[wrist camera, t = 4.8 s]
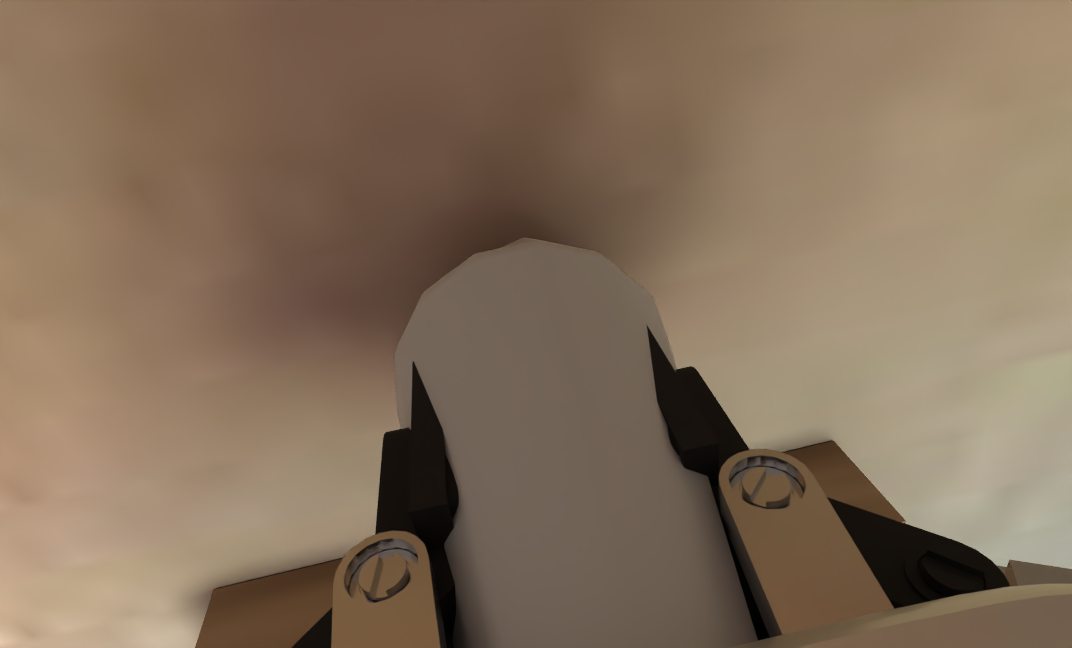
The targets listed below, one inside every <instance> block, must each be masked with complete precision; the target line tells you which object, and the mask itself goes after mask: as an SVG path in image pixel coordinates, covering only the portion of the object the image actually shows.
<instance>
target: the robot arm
mask: <svg viewBox="0 0 1072 648" xmlns="http://www.w3.org/2000/svg"><path fill="white" fill-rule="evenodd" d="M647 331H648V338H649V346H650V353H651V360H652V368H653V375H654V382H655V389H656V397H657V402H658V405H659V407H660V409H661V412H662V414H663V417H664V419H665V422H666V424H667V427H668V434H669V439H670V443H671V445H672V447H673V448H674V450H675V451H676V453H677V454H678V455H679V456H680V459H681V461H682V464H683V466H684V468H686V469H688V470H691V471H694V472H697V473H700V474H703V475H706V476H708V479H709V482H710V485H711V489H712V492H713V495H714V498H715V502H716V505H717V508H718V511H719V515H720V518H721V521H722V525H723V528H724V531H725V534H726V538H727V541H728V544H729V548H730V551H731V554H732V557H733V561H734V564H735V567H736V570H737V574H738V577H739V580H740V584H741V587H742V590H743V593H744V597H745V600H746V603H747V606H748V610H749V613H750V616H751V620H752V623H753V626H754V629H755V633H756V636H757V639H758V641H755V642H750V643H746V644H742V645H738V646H734V647H729V648H1072V569H1067V568H1060V567H1054V566H1047V565H1041V564H1034V563H1028V562H1021V561H1014V560H1009V563H1008V565H1007V567H1002V566H996V565H995V564H994V563H993V562H992V561H991V560H990V559H988V558H987V557H986V556H984V555H983V554H981V553H980V552H978V551H977V550H975V549H973V548H971V547H969V546H966V545H964V544H962V543H960V542H957V541H954V540H952V539H949V538H946V537H943V536H940V535H937V534H934V533H931V532H928V531H925V530H922V529H919V528H916V527H913V526H910V525H908V524H905V523H902V522H899V521H896V520H893V519H890V518H887V517H884V516H881V515H878V514H875V513H872V512H869V511H866V510H864V509H861V508H858V507H855V506H852V505H849V504H846V503H843V502H840V501H837V500H834V499H831V498H828V497H826V495H825V494H824V492H823V490H822V489H821V487H820V485H819V484H818V482H817V480H816V479H815V477H814V475H813V474H812V473H811V472H810V470H809V469H808V468H807V467H806V466H805V465H804V464H803V463H802V462H800V461H799V460H797V459H796V458H794V457H792V456H790V455H787V454H785V453H782V452H779V451H774V450H768V449H752V450H749V448H748V447H747V445H746V444H745V442H744V441H743V439H742V438H741V436H740V434H739V433H738V431H737V430H736V428H735V427H734V425H733V424H732V422H731V421H730V419H729V418H728V416H727V415H726V413H725V412H724V410H723V409H722V407H721V406H720V404H719V403H718V401H717V400H716V398H715V397H714V395H713V394H712V392H711V391H710V389H709V388H708V386H707V385H706V383H705V382H704V380H703V379H702V377H701V376H700V374H699V373H698V371H697V370H696V369H695V368H694V367H691V366H690V367H686V368H681V369H677V370H674V368H673V367H672V365H671V363H670V362H669V360H668V359H667V357H666V355H665V354H664V352H663V350H662V349H661V347H660V345H659V344H658V342H657V340H656V339H655V337H654V336H653V334H652V332H651V331H650V329H649V327H648V326H647ZM675 371H676V372H675ZM458 505H459V494H458V487H457V484H456V480H455V477H454V474H453V471H452V468H451V466H450V463H449V461H448V459H447V456H446V454H445V444H444V435H443V429H442V426H441V424H440V422H439V419H438V417H437V415H436V412H435V410H434V408H433V405H432V403H431V401H430V398H429V396H428V393H427V391H426V389H425V386H424V384H423V382H422V379H421V377H420V375H419V372H418V370H417V368H416V365H415V363H414V361H413V363H412V403H411V430H410V428H409V427H408V428H403V429H399V430H394V431H390V432H386V433H385V434H384V438H383V448H382V460H381V473H380V485H379V497H378V509H377V521H376V533H375V535H374V536H371V537H369V538H366V539H365V540H363V541H362V542H360V543H359V544H358V545H356V546H355V547H353V548H352V549H351V550H350V551H349V553H348V554H347V555H346V556H345V557H344V558H343V559H342V561H341V563H340V565H339V566H338V568H337V570H336V573H335V578H334V583H333V607H332V608H331V609H330V610H329V611H328V612H327V613H326V614H325V615H324V616H323V617H322V618H321V619H320V620H318V621H317V622H316V623H315V624H314V625H313V626H312V627H311V628H310V629H309V630H308V631H307V632H306V633H305V634H304V635H303V636H302V637H301V638H300V639H299V640H298V641H297V642H296V643H295V644H294V645H293V646H292V647H291V648H453V643H452V636H453V629H454V622H455V615H456V596H455V583H454V579H453V576H452V572H451V569H450V565H449V562H448V558H447V555H446V551H445V548H444V543H445V541H446V540H447V538H448V536H449V535H450V533H451V532H452V530H453V528H454V526H453V520H452V519H453V518H454V516H455V513H456V511H457V508H458Z"/></svg>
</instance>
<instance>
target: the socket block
mask: <svg viewBox="0 0 1072 648" xmlns="http://www.w3.org/2000/svg"><path fill="white" fill-rule="evenodd" d="M785 454H787V455H790V456H792V457H794V458H796V459H797V460H799V461H800V462H802V463H803V464H804V465H805V466H806V467H807V468H808V469H809V470H810V472H811V473H812V474H813V475H814V477H815V479H816V480H817V482H818V484H819V485H820V487H821V489H822V490H823V492H824V494H825V495H826V497H828V498H831V499H834V500H837V501H840V502H843V503H846V504H849V505H852V506H855V507H858V508H861V509H864V510H866V511H869V512H872V513H875V514H878V515H881V516H884V517H887V518H890V519H893V520H896V521H899V522H902V523H905V522H906V521H905V520H904V518H903V517H902V516H901V515H900V514H899V513H898V512H897V511H896V510H895V508H894V507H893V506H892V505H891V504H890V503H889V502H888V501H887V500H886V498H885V497H884V496H883V495H882V494H881V493H880V492H879V491H878V490H877V488H876V487H875V486H874V485H873V484H872V483H871V482H870V481H869V480H868V478H867V477H866V476H865V475H864V474H863V473H862V472H861V471H860V470H859V468H858V467H857V466H856V465H855V464H854V463H853V462H852V461H851V460H850V458H849V457H848V456H847V455H846V454H845V453H844V452H843V451H842V450H841V448H840V447H839V446H838V445H837V444H836V443H835V442H834V441H831V442H826V443H822V444H818V445H814V446H810V447H806V448H801V449H797V450H793V451H789V452H785ZM341 561H342V559H339V560H335V561H331V562H327V563H323V564H318V565H314V566H310V567H306V568H302V569H298V570H293V571H289V572H285V573H281V574H277V575H273V576H269V577H264V578H260V579H256V580H252V581H248V582H244V583H239V584H235V585H231V586H227V587H223V588H219V589H214V591H213V594H212V597H211V600H210V603H209V606H208V610H207V613H206V616H205V619H204V622H203V625H202V628H201V631H200V634H199V637H198V640H197V644H196V647H195V648H291V647H292V646H293V645H294V644H295V643H296V642H297V641H298V640H299V639H300V638H301V637H302V636H303V635H304V634H305V633H306V632H307V631H308V630H309V629H310V628H311V627H312V626H313V625H314V624H315V623H316V622H317V621H318V620H320V619H321V618H322V617H323V616H324V615H325V614H326V613H327V612H328V611H329V610H330V609H331V608H332V607H333V583H334V578H335V573H336V570H337V568H338V566H339V565H340V563H341Z"/></svg>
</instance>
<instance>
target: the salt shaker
mask: <svg viewBox="0 0 1072 648" xmlns="http://www.w3.org/2000/svg"><path fill="white" fill-rule="evenodd" d="M647 326H648V327H649V329H650V331H651V332H652V334H653V336H654V337H655V339H656V340H657V342H658V344H659V345H660V347H661V349H662V350H663V352H664V354H665V355H666V357H667V359H668V360H669V362H670V363H671V365H672V367H673V368H674V370H677V368H676V365H675V361H674V357H673V354H672V350H671V346H670V343H669V340H668V337H667V335H666V332H665V329H664V326H663V323H662V321H661V318H660V315H659V312H658V309H657V307H656V304H655V301H654V298H653V296H652V295H651V294H650V293H649V292H647V291H646V290H645V289H644V288H643V287H642V286H641V285H639V284H638V283H637V282H636V281H634V280H633V279H632V278H631V277H629V276H628V275H627V274H626V273H624V272H623V271H622V270H621V269H619V268H618V267H617V266H616V265H614V264H613V263H612V262H611V261H609V260H608V259H607V258H606V257H604V256H603V255H602V254H601V253H599V252H598V251H593V250H588V249H583V248H578V247H573V246H568V245H563V244H558V243H553V242H548V241H544V240H539V239H531V238H524V237H523V238H521V239H519V240H516V241H514V242H512V243H510V244H508V245H506V246H503V247H501V248H498V249H493V250H489V251H485V252H480V253H476V254H473V255H472V256H471V257H469V258H468V259H467V260H465V261H464V262H463V263H461V264H460V265H459V266H457V267H456V268H455V269H453V270H451V271H450V272H449V273H447V274H446V275H445V276H443V277H442V278H441V279H439V280H438V281H437V282H436V283H434V284H433V285H432V286H430V287H429V288H428V289H427V290H425V291H424V292H423V293H422V296H421V298H420V300H419V302H418V304H417V306H416V308H415V310H414V312H413V314H412V316H411V318H410V320H409V322H408V324H407V326H406V329H405V331H404V333H403V335H402V337H401V339H400V341H399V343H398V346H397V349H396V352H395V355H394V368H395V384H396V401H397V412H398V416H399V420H400V425H401V429H403V428H408V427H409V428H410V430H411V403H412V363H413V361H414V363H415V365H416V368H417V370H418V372H419V375H420V377H421V379H422V382H423V384H424V386H425V389H426V391H427V393H428V396H429V398H430V401H431V403H432V405H433V408H434V410H435V412H436V415H437V417H438V419H439V422H440V424H441V426H442V429H443V435H444V444H445V454H446V456H447V459H448V461H449V463H450V466H451V468H452V471H453V474H454V477H455V480H456V484H457V487H458V494H459V505H458V508H457V511H456V513H455V516H454V518H453V519H452V520H453V526H454V528H453V530H452V532H451V533H450V535H449V536H448V538H447V540H446V541H445V543H444V548H445V551H446V555H447V558H448V562H449V565H450V569H451V572H452V576H453V579H454V583H455V596H456V615H455V622H454V629H453V636H452V643H453V648H729V647H734V646H738V645H742V644H746V643H750V642H755V641H758V639H757V636H756V633H755V629H754V626H753V623H752V620H751V616H750V613H749V610H748V606H747V603H746V600H745V597H744V593H743V590H742V587H741V584H740V580H739V577H738V574H737V570H736V567H735V564H734V561H733V557H732V554H731V551H730V548H729V544H728V541H727V538H726V534H725V531H724V528H723V525H722V521H721V518H720V515H719V511H718V508H717V505H716V502H715V498H714V495H713V492H712V489H711V485H710V482H709V479H708V476H706V475H703V474H700V473H697V472H694V471H691V470H688V469H686V468H684V466H683V464H682V461H681V459H680V456H679V455H678V454H677V453H676V451H675V450H674V448H673V447H672V445H671V443H670V439H669V434H668V427H667V424H666V422H665V419H664V417H663V414H662V412H661V409H660V407H659V405H658V402H657V397H656V389H655V382H654V375H653V368H652V360H651V353H650V346H649V338H648V331H647ZM675 372H676V371H675Z"/></svg>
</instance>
